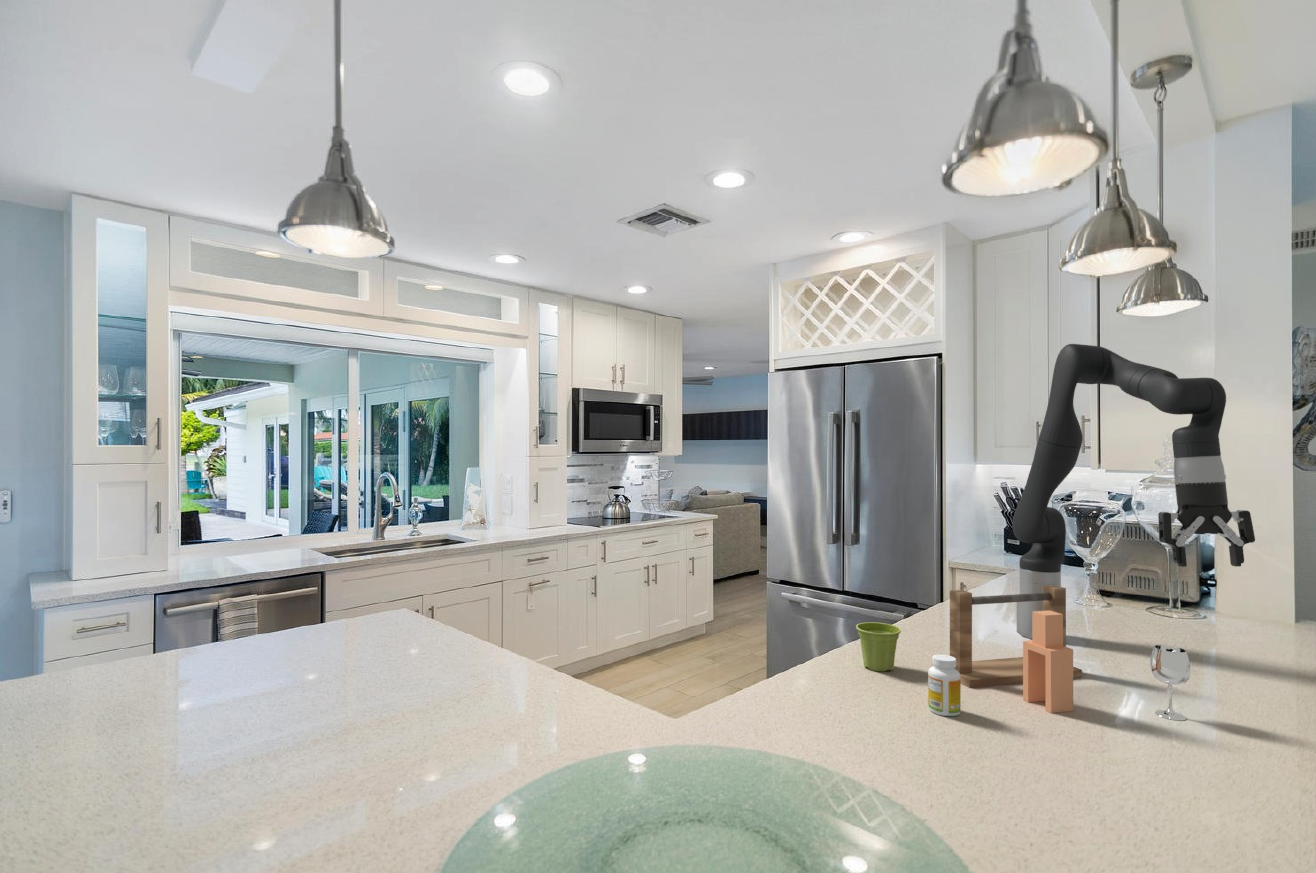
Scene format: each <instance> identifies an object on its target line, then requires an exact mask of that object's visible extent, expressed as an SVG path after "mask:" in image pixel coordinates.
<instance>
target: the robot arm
mask: <svg viewBox="0 0 1316 873" xmlns="http://www.w3.org/2000/svg"><path fill="white" fill-rule="evenodd" d="M1078 384H1084V385H1085V384H1086V385H1097V384H1098V385H1111V386H1116V387H1119V389H1120V390H1121V391H1123V392H1124V393H1125V394H1126V395H1129V396H1131V397H1133V398H1136V399H1139V400H1142V401H1145V402H1148V403H1150V404H1151V405H1152V406H1153V407H1155V408H1156V409H1158V410H1159V411H1161V412H1162V413H1167V414H1170V415H1175V416H1176V415H1191V420H1190V422H1189V424H1188V425H1187V426H1182V427H1179V428H1176V429H1175V430H1174V431H1173V432H1172V435H1171V440H1172V441H1171V442H1172V452H1173V458H1174V459H1173V477H1174V487H1175V495H1176V496H1175V497H1176V505H1177V511H1176V512H1168V511H1160V512H1158V515H1157V516H1158V540H1159V542H1160V543H1161V544H1163V543H1164V544H1167V545H1170V546H1171V549H1172V558H1173V560H1172V561H1173V562H1174V563H1175V564H1177V566H1178V567H1182V568H1187V566H1188V563H1187V552H1186V547H1185V546H1184V545H1185V543H1186V542H1187V541H1188V540H1189V539H1190V538H1191V537H1193V535H1205V534H1206V535H1207V534H1211V535H1220V537H1222V538H1223V539H1225V541H1227V542H1228V544H1230V545H1228V552H1229V561H1230V566H1232V567H1242V564H1244V563H1245V556H1244V554H1245V552H1244V546H1245V545H1247V544H1249V543H1254V542H1256V536H1255V531H1254V526H1253V520H1252V515H1251V512H1250V511H1249V510H1242V509H1238V510H1236V511H1230V509H1229V507H1228V506H1229V501H1228V492H1227V482H1226V479H1227V478H1226V477H1227V476H1226V474H1225V473H1226V472H1225V467H1224V464H1223V460H1222V456H1221V455H1222V453H1221V444H1220V438H1219V436H1220V435H1219V434H1220V430H1221V427H1222V422H1223V417H1224V413H1225V410H1226V403H1227V394H1226V391H1225V388H1224V386H1223V385H1222V383H1221V382H1220V381H1219V380H1217V379H1215V378H1212V377H1188V378H1186V377H1185V378H1184V377H1183V378H1179V377H1178V376H1177V375H1176V374H1175V373H1173V372H1171V371H1169V370H1167V369H1163V368H1160V367H1156V366H1152V365H1147V364H1143V363H1139V362H1134V361H1131V360H1129V359H1127V358H1125V357H1122V356H1121V355H1119V353H1118V354H1117V353H1116V352H1114V351H1112V350H1110V349H1108V348H1106V347H1103V346H1098V345H1089V344H1081V343H1080V344H1079V343H1068V344H1066V345H1065V346H1063V347H1062V349H1061V350H1060V351H1059V353H1058V354H1057V358H1056V360H1055V364H1054V367H1053V373H1052V379H1051V386H1050V390H1049V391H1050V393H1049V398H1048V403H1047V407H1046V410H1045V415H1044V417H1043V423H1042V425H1041V429H1040V433H1039V436H1038V439H1037V443H1036V447H1035V450H1034V455H1033V460H1032V463H1031V467H1030V470H1029V472H1028V476H1027V479H1026V483H1025V486H1024V489H1023V491H1022V493H1021V497H1020V499H1019V501H1018V503H1017V506H1016V508H1015V511H1014V515H1013V517H1012V524H1011V525H1012V532H1013V534H1014V537H1015V538H1016V539H1017V540H1018V541H1020V542H1021V543H1023V544H1024V543H1025V544H1032V546H1031V549H1030V550H1029V551H1028V552H1026V553H1025V554H1022V556H1021V557H1020V558H1019V594H1034V593H1043V586H1050V585H1055V586H1059V587H1062V564H1063V562H1064V559H1065V555H1066V537H1067V536H1066V535H1067V528H1066V520H1065V517H1064V516H1063V515H1062V513H1061V511H1060V510H1058V509H1056V508H1054V507H1051V506H1049V502H1050V499H1051V497H1052V495H1053V494H1054V492H1055V491H1056V489H1057V488H1058V487H1059V486H1060V485H1061V483H1062V482H1064V480H1065V479H1066V478H1067V477H1068V476H1069V475H1070V473H1071V471H1073V469H1074V468H1075V466H1076V464H1077V461H1078V459H1079V455H1080V453H1081V449H1082V444H1083V433H1082V429H1081V425H1080V423H1079V420H1078V416H1077V414H1076V412H1075V407H1074V397H1075V391H1076V388H1077V386H1078ZM1231 519H1233V521H1234V522H1235V523H1236V524H1237V529H1238V534H1239V536H1238V535H1237V534H1236V531H1234V530H1233V529H1232V527H1230V526H1229V525H1228V523H1229V522H1230V521H1231ZM1175 520H1177V521H1179V523H1180V524H1181V525H1180V527H1179V528H1178V529H1177V530H1176V532H1175V534H1174V536H1172V535H1173V534H1172V529H1173V528H1172V524H1174V522H1175ZM1033 611H1043V601H1028V602H1016V633H1019V635H1020V636H1023V637H1024V638H1028V639H1030V640H1032V612H1033Z"/></svg>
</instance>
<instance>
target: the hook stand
mask: <svg viewBox="0 0 1316 873" xmlns="http://www.w3.org/2000/svg"><path fill="white" fill-rule="evenodd" d="M1066 595H1067V588H1066V587H1063V586H1061V587H1059V586H1055V585H1050V586H1043V593H1034V594H1020V593H1019V594H1018V593H1017V594H1016V593H1015V594H1001V595H1000V594H999V595H997V594H996V595H983V596H982V595H981V596H980V595H979V596H973V593H972V592H970V591H966V590H963V589H953V590H949V656H952V657H954V658H956V668H955V669H956V670H957V671H958V672H959V673H960V678H961V684H962V685H963V686H965V687H968V688H969V689H970V688H972V689H973V688H980V687H991V686H1000V685H1001V686H1002V685H1010V684H1011V685H1012V684H1023V656H1020V657H1019V656H1017V657H1008V658H1007V657H1005V658H994V659H984V660H983V659H982V660H973V605H975V606H976V605H989V604H990V605H991V604H992V605H993V604H1007V603H1010V604H1011V603H1017V602H1028V601H1043V611H1049V610H1050V611H1053V612H1057V613H1060V614H1063V646H1065V647H1067V625H1066V624H1067V603H1066V602H1067V596H1066ZM1075 678H1083V670H1082V669H1081V668H1079V667H1076V666H1073V679H1075Z"/></svg>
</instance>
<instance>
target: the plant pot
mask: <svg viewBox="0 0 1316 873" xmlns="http://www.w3.org/2000/svg"><path fill="white" fill-rule="evenodd" d="M855 629H856V630H857V631H858V632H857V633H858V634H857V635H858V636H859V639H860V646H861V654H862V655H861V656H862V661H863V666H864V668H868V669H869V670H871V671H874V672H881V673H882V672H887V671H893V670H894V666H895V660H896V658H895V656H896V651H897V642H898V640H899V636H900V634H901V632H902V629H901V628H900V627H899V626H896V625H893V624H889V623H885V622H871V621H870V622H861V623H858V624H856V625H855Z"/></svg>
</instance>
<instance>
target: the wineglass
mask: <svg viewBox="0 0 1316 873" xmlns="http://www.w3.org/2000/svg"><path fill="white" fill-rule="evenodd" d="M1149 666H1150V671H1151V673H1152V676H1154V677H1155V678H1156V679H1157V680H1159V681H1160V682H1162V683H1164V684H1166V685H1167V687H1166V692H1167V697H1168V705H1167V708H1166V709H1157V710H1154V714H1155V715H1156V716H1159V717H1161V718H1164V719H1167V720H1172V721H1185V720H1187V717H1186V716H1185V715H1183V714H1182V713H1179V712H1176V711H1175V710H1174V709H1173V694H1174V693H1175V692H1174V691H1175V690H1174V687H1173V686H1179V685H1183V684H1185V683H1188V681H1189V679H1190V678H1191V674H1192V673H1191V672H1192V671H1191V670H1192V669H1191V663H1190V658H1189V654H1188V653H1187V650H1186V649H1184V648H1183V647H1182V648H1181V647H1178V646H1173V645H1169V644H1168V645H1167V644H1166V645H1165V644H1155V645H1154V646H1153V648H1152V652H1151V655H1150V661H1149Z"/></svg>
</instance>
